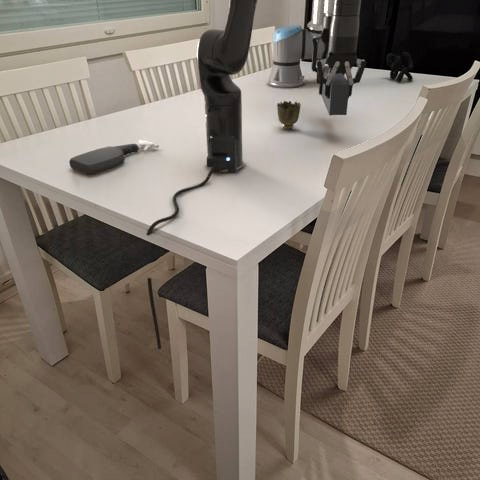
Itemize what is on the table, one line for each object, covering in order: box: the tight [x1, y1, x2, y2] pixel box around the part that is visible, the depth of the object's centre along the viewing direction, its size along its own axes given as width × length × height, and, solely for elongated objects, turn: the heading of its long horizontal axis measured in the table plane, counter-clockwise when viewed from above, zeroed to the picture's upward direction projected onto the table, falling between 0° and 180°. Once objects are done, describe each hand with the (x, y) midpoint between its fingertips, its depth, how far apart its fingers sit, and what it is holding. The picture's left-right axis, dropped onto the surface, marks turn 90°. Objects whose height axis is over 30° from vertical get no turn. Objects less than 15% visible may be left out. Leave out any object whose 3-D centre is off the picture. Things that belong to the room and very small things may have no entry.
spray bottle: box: [68, 139, 160, 177], centre depth 124 cm, size 3×11×24 cm
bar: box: [320, 65, 350, 116], centre depth 136 cm, size 26×5×9 cm, turn 177°
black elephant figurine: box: [385, 51, 414, 83], centre depth 198 cm, size 11×10×15 cm
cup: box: [276, 100, 302, 131], centre depth 143 cm, size 8×7×8 cm
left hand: (337, 97), depth 129 cm, fingers closed on bar, 5 cm apart
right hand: (328, 93), depth 146 cm, fingers closed on bar, 5 cm apart
